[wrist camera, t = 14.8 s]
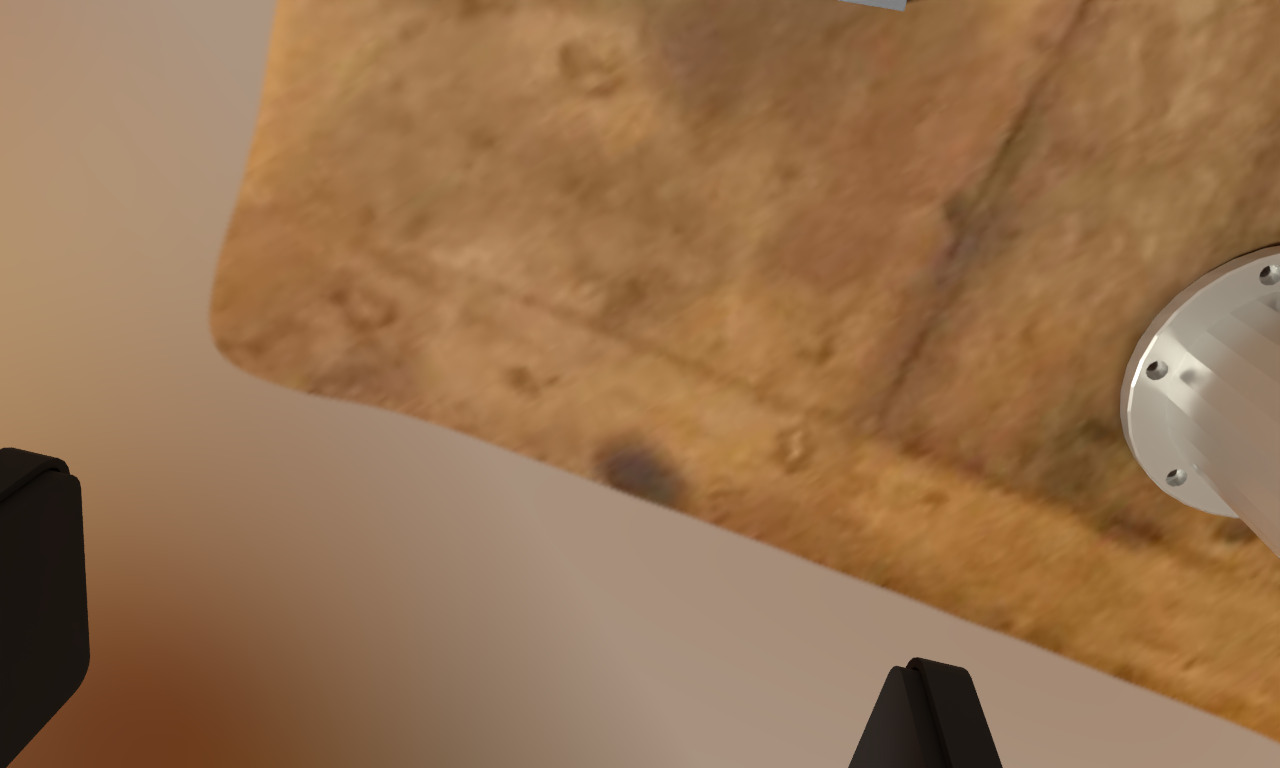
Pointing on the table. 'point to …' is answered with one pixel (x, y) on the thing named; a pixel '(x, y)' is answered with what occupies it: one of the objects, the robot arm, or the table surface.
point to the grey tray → (882, 3)
